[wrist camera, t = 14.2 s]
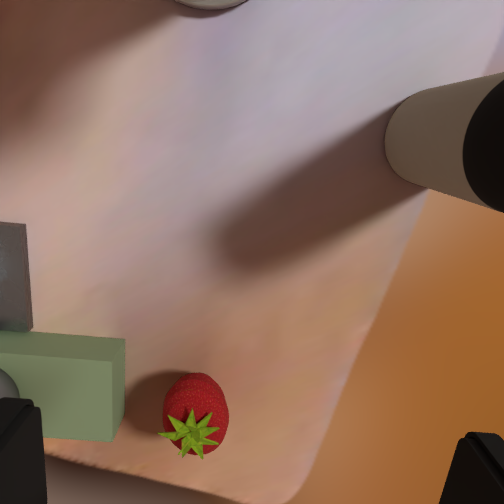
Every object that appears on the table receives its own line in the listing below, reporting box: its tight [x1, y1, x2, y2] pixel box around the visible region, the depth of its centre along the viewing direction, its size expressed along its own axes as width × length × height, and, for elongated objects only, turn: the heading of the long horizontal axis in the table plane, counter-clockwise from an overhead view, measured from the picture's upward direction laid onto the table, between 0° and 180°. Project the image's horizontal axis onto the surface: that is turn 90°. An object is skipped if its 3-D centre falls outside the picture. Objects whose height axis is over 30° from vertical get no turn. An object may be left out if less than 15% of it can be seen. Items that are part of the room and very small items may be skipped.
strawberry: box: [157, 373, 229, 459], centre depth 36 cm, size 6×8×10 cm
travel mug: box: [385, 72, 504, 213], centre depth 26 cm, size 8×8×18 cm
